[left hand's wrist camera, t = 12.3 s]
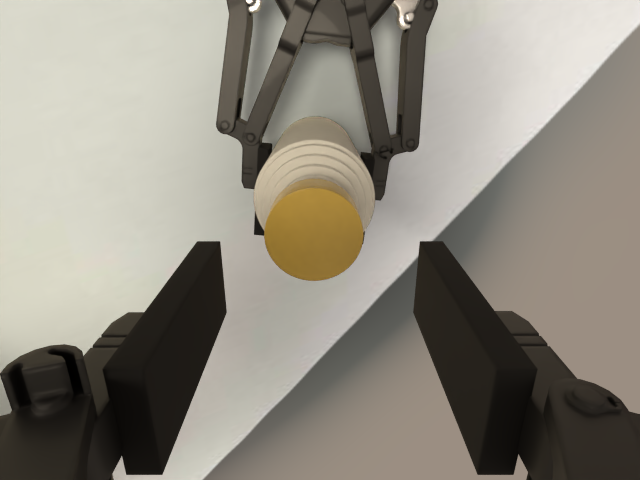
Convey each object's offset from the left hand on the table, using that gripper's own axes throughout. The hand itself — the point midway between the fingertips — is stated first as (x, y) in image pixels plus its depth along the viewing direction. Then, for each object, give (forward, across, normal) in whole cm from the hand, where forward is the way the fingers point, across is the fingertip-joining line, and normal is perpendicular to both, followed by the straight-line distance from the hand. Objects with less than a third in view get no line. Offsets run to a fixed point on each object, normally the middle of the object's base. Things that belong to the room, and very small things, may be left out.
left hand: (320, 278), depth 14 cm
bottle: (+24, 0, 0) cm, 24 cm away
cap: (+5, 0, 0) cm, 5 cm away
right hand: (+18, -1, -5) cm, 19 cm away
